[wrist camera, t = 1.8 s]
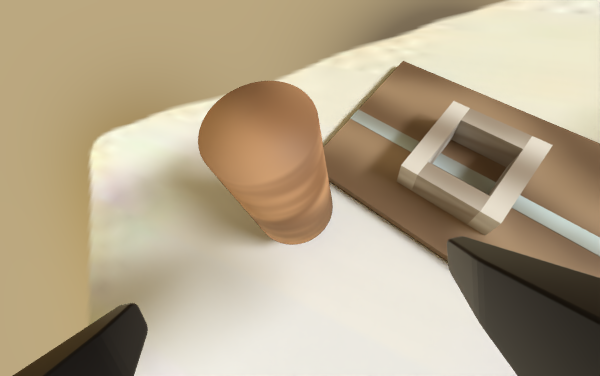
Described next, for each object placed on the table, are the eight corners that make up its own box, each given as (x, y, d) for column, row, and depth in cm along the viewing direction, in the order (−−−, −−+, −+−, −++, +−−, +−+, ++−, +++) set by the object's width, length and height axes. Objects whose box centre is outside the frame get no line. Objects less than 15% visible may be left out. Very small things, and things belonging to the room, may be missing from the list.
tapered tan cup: (303, 268, 22) (256, 207, 12) (252, 224, 25) (174, 139, 14) (349, 213, 24) (344, 113, 13) (296, 176, 26) (257, 65, 15)
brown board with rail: (597, 363, 17) (647, 368, 14) (310, 167, 26) (304, 146, 23) (682, 188, 21) (736, 164, 18) (401, 67, 29) (407, 37, 27)
